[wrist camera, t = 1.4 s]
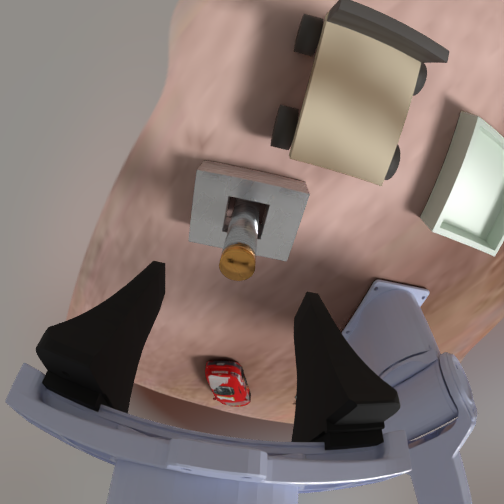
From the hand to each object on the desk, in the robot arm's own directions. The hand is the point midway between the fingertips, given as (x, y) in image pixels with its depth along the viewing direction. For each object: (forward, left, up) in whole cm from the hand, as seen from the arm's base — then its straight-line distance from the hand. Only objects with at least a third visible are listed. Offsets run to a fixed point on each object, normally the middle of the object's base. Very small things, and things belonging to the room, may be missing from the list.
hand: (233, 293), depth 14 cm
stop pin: (0, 0, -10) cm, 10 cm away
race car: (-28, -3, -11) cm, 31 cm away
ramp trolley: (+10, -5, -10) cm, 16 cm away
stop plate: (0, 0, -10) cm, 10 cm away
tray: (+8, -21, -10) cm, 25 cm away
